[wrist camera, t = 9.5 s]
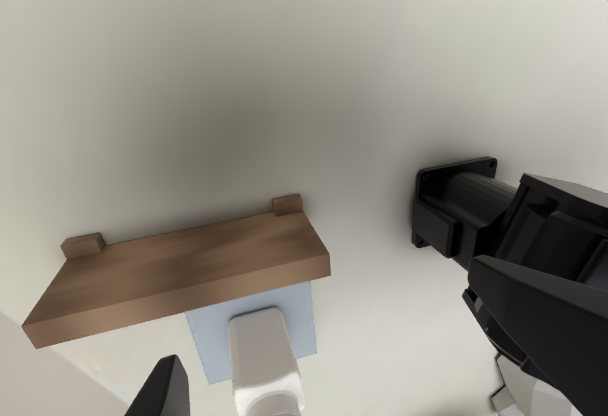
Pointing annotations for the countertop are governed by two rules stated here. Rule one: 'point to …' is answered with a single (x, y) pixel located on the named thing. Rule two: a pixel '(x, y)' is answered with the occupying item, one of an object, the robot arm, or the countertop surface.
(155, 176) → the countertop surface
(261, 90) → the countertop surface
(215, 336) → the slate coaster
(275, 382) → the pepper shaker
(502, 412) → the rock
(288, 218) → the walnut screen
